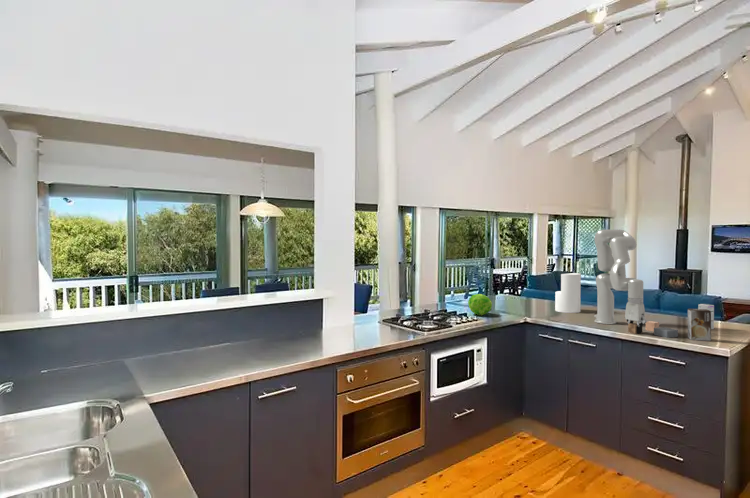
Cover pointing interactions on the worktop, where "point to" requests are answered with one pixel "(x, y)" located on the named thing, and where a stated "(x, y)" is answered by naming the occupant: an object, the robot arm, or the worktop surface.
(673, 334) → the base block
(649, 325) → the terracotta cube
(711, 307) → the syrup box
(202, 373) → the worktop surface
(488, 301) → the lettuce
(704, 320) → the coffee box
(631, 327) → the walnut cube
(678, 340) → the worktop surface
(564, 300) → the cylinder
